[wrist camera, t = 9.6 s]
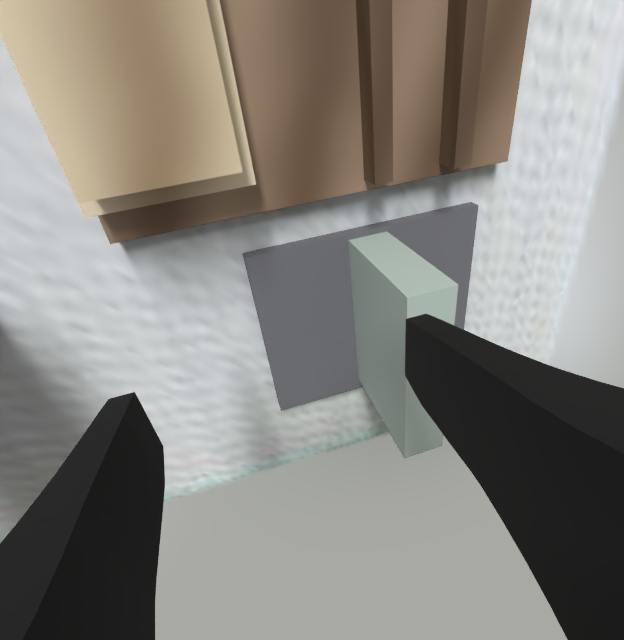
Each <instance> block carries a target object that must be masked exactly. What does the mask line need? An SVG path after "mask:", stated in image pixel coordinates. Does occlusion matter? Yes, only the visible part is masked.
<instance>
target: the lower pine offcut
mask: <svg viewBox="0 0 624 640" xmlns="http://www.w3.org/2000/svg"><path fill="white" fill-rule="evenodd" d="M206 4H207V8H208V13H209V17H210V22H211V27H212V31H213V36H214V41H215V45H216V50H217V55H218V59H219V64H220V69H221V73H222V78H223V83H224V87H225V92H226V97H227V101H228V106H229V110H230V115H231V120H232V124H233V129H234V134H235V138H236V143H237V148H238V152H239V157H240V162H241V166H242V171H243V172H242V173H236V174H231V175H226V176H221V177H215V178H210V179H205V180H199V181H194V182H189V183H184V184H178V185H173V186H168V187H163V188H157V189H152V190H147V191H142V192H136V193H131V194H126V195H121V196H115V197H110V198H105V199H100V200H94V201H89V202H84V203H79V201H78V199H77V197H76V195H75V192H74V190H73V188H72V186H71V184H70V182H69V179H68V177H67V175H66V173H65V171H64V169H63V167H62V164H61V162H60V160H59V158H58V156H57V154H56V151H55V149H54V147H53V145H52V143H51V141H50V138H49V136H48V134H47V132H46V130H45V128H44V125H43V123H42V121H41V119H40V117H39V115H38V112H37V110H36V108H35V106H34V104H33V102H32V99H31V97H30V95H29V93H28V91H27V89H26V86H25V84H24V82H23V80H22V78H21V76H20V73H19V71H18V69H17V67H16V65H15V63H14V60H13V58H12V56H11V54H10V52H9V50H8V48H7V45H6V43H5V41H4V39H3V37H2V35H1V32H0V36H1V38H2V40H3V42H4V45H5V47H6V49H7V51H8V53H9V55H10V57H11V60H12V62H13V64H14V66H15V68H16V70H17V73H18V75H19V77H20V79H21V81H22V83H23V86H24V88H25V90H26V92H27V94H28V96H29V98H30V101H31V103H32V105H33V107H34V109H35V111H36V114H37V116H38V118H39V120H40V122H41V124H42V126H43V129H44V131H45V133H46V135H47V137H48V139H49V142H50V144H51V146H52V148H53V150H54V152H55V154H56V157H57V159H58V161H59V163H60V165H61V167H62V170H63V172H64V174H65V176H66V178H67V180H68V182H69V185H70V187H71V189H72V191H73V193H74V195H75V198H76V200H77V202H78V204H79V206H80V208H81V210H82V213H83V215H84V217H85V218H88V217H93V216H98V215H104V214H109V213H114V212H119V211H124V210H129V209H134V208H139V207H144V206H149V205H154V204H160V203H165V202H170V201H175V200H180V199H185V198H190V197H195V196H200V195H205V194H211V193H216V192H221V191H226V190H231V189H236V188H241V187H246V186H251V185H256V181H255V176H254V171H253V166H252V161H251V156H250V151H249V146H248V141H247V136H246V131H245V126H244V121H243V116H242V111H241V106H240V101H239V96H238V91H237V86H236V81H235V76H234V71H233V66H232V61H231V56H230V51H229V46H228V41H227V36H226V31H225V26H224V21H223V16H222V11H221V6H220V1H219V0H206Z"/></svg>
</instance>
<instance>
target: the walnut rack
mask: <svg viewBox="0 0 624 640" xmlns="http://www.w3.org/2000/svg"><path fill="white" fill-rule="evenodd" d="M219 1H220V6H221V11H222V16H223V21H224V26H225V31H226V36H227V41H228V46H229V51H230V56H231V61H232V66H233V71H234V76H235V81H236V86H237V91H238V96H239V101H240V106H241V111H242V116H243V121H244V126H245V131H246V136H247V141H248V146H249V151H250V156H251V161H252V166H253V171H254V176H255V181H256V185H251V186H246V187H241V188H236V189H231V190H226V191H221V192H216V193H211V194H205V195H200V196H195V197H190V198H185V199H180V200H175V201H170V202H165V203H160V204H154V205H149V206H144V207H139V208H134V209H129V210H124V211H119V212H114V213H109V214H104V215H98V217H99V219H100V222H101V224H102V226H103V228H104V231H105V233H106V235H107V237H108V240H109V242H110V244H113V243H117V242H122V241H127V240H132V239H137V238H141V237H146V236H151V235H156V234H161V233H165V232H170V231H175V230H180V229H184V228H189V227H194V226H199V225H204V224H208V223H213V222H218V221H223V220H228V219H232V218H237V217H242V216H247V215H252V214H256V213H261V212H266V211H271V210H276V209H280V208H285V207H290V206H295V205H300V204H304V203H309V202H314V201H319V200H324V199H328V198H333V197H338V196H343V195H348V194H352V193H357V192H362V191H367V190H372V189H376V188H381V187H386V186H391V185H396V184H400V183H405V182H410V181H415V180H420V179H424V178H429V177H434V176H439V175H444V174H448V173H453V172H458V171H463V170H467V169H472V168H477V167H482V166H487V165H491V164H496V163H501V162H506V161H508V154H509V147H510V141H511V134H512V127H513V121H514V114H515V108H516V101H517V94H518V88H519V81H520V74H521V68H522V61H523V54H524V48H525V41H526V35H527V28H528V21H529V15H530V8H531V1H532V0H219Z"/></svg>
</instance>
